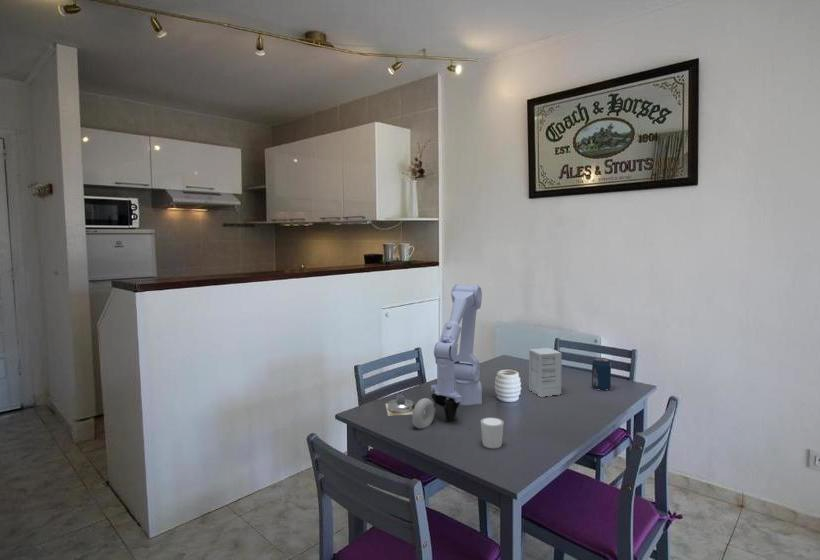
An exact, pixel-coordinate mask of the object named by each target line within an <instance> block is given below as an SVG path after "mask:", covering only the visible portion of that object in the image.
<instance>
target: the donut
mask: <svg viewBox="0 0 820 560" xmlns="http://www.w3.org/2000/svg"><path fill="white" fill-rule="evenodd" d="M432 401H433V400H431V399H430V398H427V397H424V398H421V399H418V401H416V402H417V404H416V405H415V407H414V410H413V414H411V417H412V418H411V419H412V423H413V425H414V427H415V428H416V429H419V430H422V429H426V428H428V427H429V426H430V425H431V424H432V423H433V420H434V417H435V415H436V413H435V407H434V404H433V402H432ZM424 411H425V412H424ZM423 413H424V414H423Z"/></svg>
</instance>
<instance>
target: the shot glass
mask: <svg viewBox="0 0 820 560" xmlns="http://www.w3.org/2000/svg"><path fill="white" fill-rule="evenodd" d="M504 424H505V423H504V420H503V419H501V418H497V417H491V416H490V417H484V418H482V419H480V428H481V429H480V430H481V439H482V440H481V441H482V445H483V446H484V447H485V448H488V449H498V448H500V447H502V444H503V434H504Z"/></svg>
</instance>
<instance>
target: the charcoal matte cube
mask: <svg viewBox="0 0 820 560" xmlns="http://www.w3.org/2000/svg"><path fill="white" fill-rule="evenodd" d="M435 404H436V413H435V418H437V420H440V421H441V422H443V423H447V422H450V421H449V420H448V418H447V409H446V405H445V403H444V401H442V402H438V403H435ZM457 412H458V411H457V410H456V414H455V418H454V420H457V418H458V417H457Z"/></svg>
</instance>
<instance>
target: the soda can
mask: <svg viewBox="0 0 820 560" xmlns="http://www.w3.org/2000/svg"><path fill="white" fill-rule="evenodd" d="M591 363H592V364H591V369H592V370H591V371H592V372H591V386H592V387H593V389H594V388H595V389H600V390H606V389H610V388H611V377H612V376H611V374H612V364H611V362H610V359H609V358H606V357H594V358H593V361H592V362H591ZM595 389H594V390H595Z"/></svg>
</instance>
